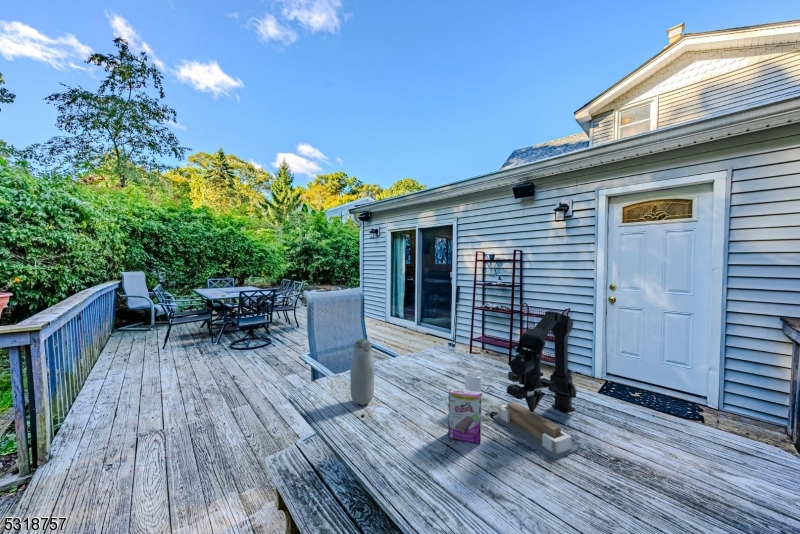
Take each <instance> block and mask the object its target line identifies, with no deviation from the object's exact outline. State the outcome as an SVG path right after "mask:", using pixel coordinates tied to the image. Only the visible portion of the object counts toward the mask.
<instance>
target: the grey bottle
mask: <svg viewBox="0 0 800 534" xmlns="http://www.w3.org/2000/svg"><path fill="white" fill-rule="evenodd" d="M373 358H374V357H373V354H372V343H371V341H370V340H368V339H366V338H361V339H357V340H356V341H355V343H354V346H353V355H352V359H351V364H350V369H349V370H350V371H349V375H350V377H349V378H350V380H349V381H350V382H349V383H350V397H351V399H352V401H353V402H354V403H355V404H357V405H359V404H360V405H361V406H364V405H365V406H366V405H368V404H369V403H371V401H372V400H373V399H374V398H373V397H374V393H375V362H374V359H373Z"/></svg>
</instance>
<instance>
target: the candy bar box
mask: <svg viewBox="0 0 800 534" xmlns="http://www.w3.org/2000/svg"><path fill="white" fill-rule="evenodd" d="M482 411H483V392H482V391H481V392H477V391H470V390H465V388H464V389H463V388H455V387H450V389H449V391H448V414H447V415H448V418H447V419H448V420H447V421H448V422H447V424H448V426H447V429H448V430H447V431H448V433H447V437H448V439H450V438H451V439H452V440H455V441H456V440H457V441H461V442H467V443H470V444H471V443H473V444H475V445H476V444H477V445H481V440H482V433H483V432H482V419H483V416H482V415H483V412H482Z"/></svg>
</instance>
